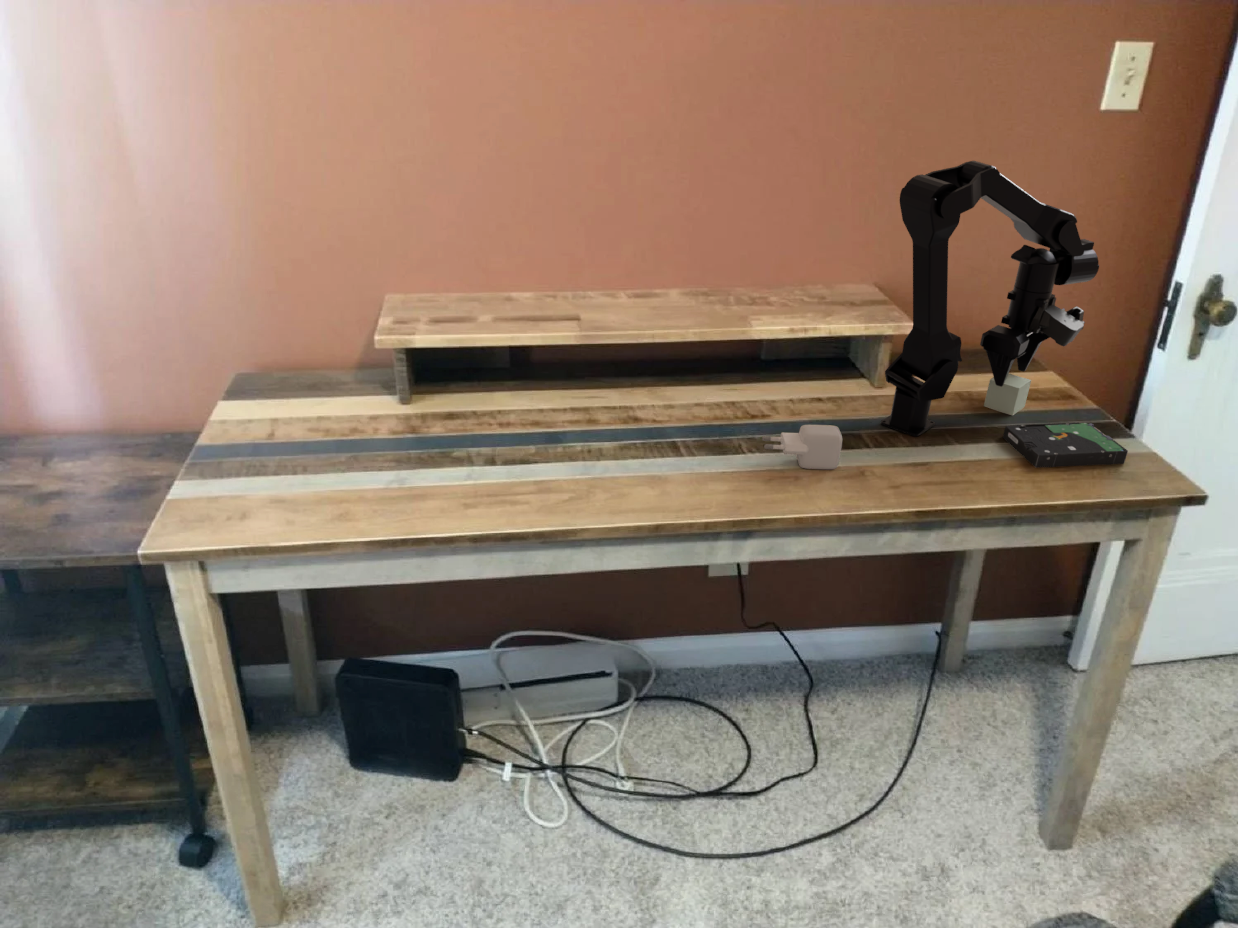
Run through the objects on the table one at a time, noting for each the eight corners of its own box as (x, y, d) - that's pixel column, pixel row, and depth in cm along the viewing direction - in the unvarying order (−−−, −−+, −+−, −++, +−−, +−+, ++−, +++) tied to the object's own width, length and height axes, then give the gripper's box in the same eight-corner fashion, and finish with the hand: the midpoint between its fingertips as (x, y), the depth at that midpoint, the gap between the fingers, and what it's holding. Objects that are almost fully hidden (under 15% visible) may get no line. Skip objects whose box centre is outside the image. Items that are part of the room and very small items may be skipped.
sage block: (1012, 416, 161) (1019, 388, 159) (983, 406, 164) (989, 379, 162) (1024, 407, 164) (1031, 380, 162) (995, 398, 167) (1002, 371, 165)
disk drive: (1035, 472, 145) (1125, 466, 147) (1039, 455, 144) (1130, 449, 146) (1000, 440, 154) (1085, 435, 156) (1004, 424, 153) (1089, 419, 155)
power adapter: (762, 470, 141) (767, 434, 138) (758, 455, 145) (762, 419, 142) (839, 473, 141) (845, 437, 138) (832, 457, 145) (838, 422, 143)
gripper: (1062, 314, 143) (1036, 409, 151) (1105, 287, 156) (1079, 377, 163) (990, 295, 150) (968, 388, 157) (1036, 271, 162) (1015, 358, 170)
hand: (1010, 378), depth 162 cm, fingers open, 9 cm apart
